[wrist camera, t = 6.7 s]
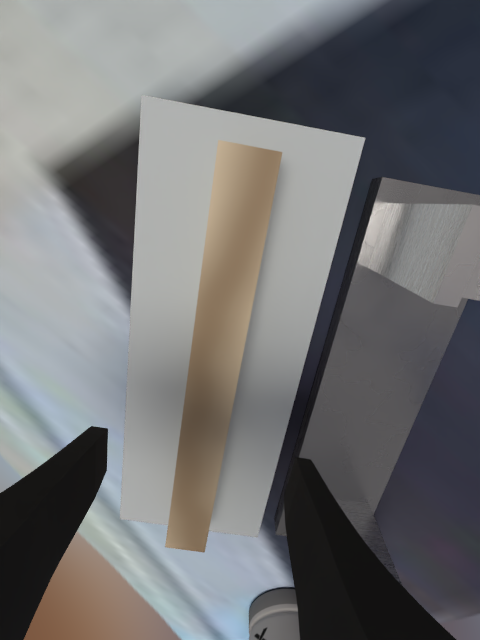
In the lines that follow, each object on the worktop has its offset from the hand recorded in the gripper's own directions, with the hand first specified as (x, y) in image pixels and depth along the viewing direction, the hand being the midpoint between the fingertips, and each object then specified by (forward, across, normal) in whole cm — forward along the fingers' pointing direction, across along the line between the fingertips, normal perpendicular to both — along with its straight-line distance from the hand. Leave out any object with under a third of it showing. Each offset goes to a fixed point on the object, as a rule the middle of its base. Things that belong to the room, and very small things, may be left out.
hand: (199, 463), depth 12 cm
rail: (+7, 0, 0) cm, 7 cm away
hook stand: (+7, -9, 0) cm, 12 cm away
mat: (+7, 0, 0) cm, 7 cm away
